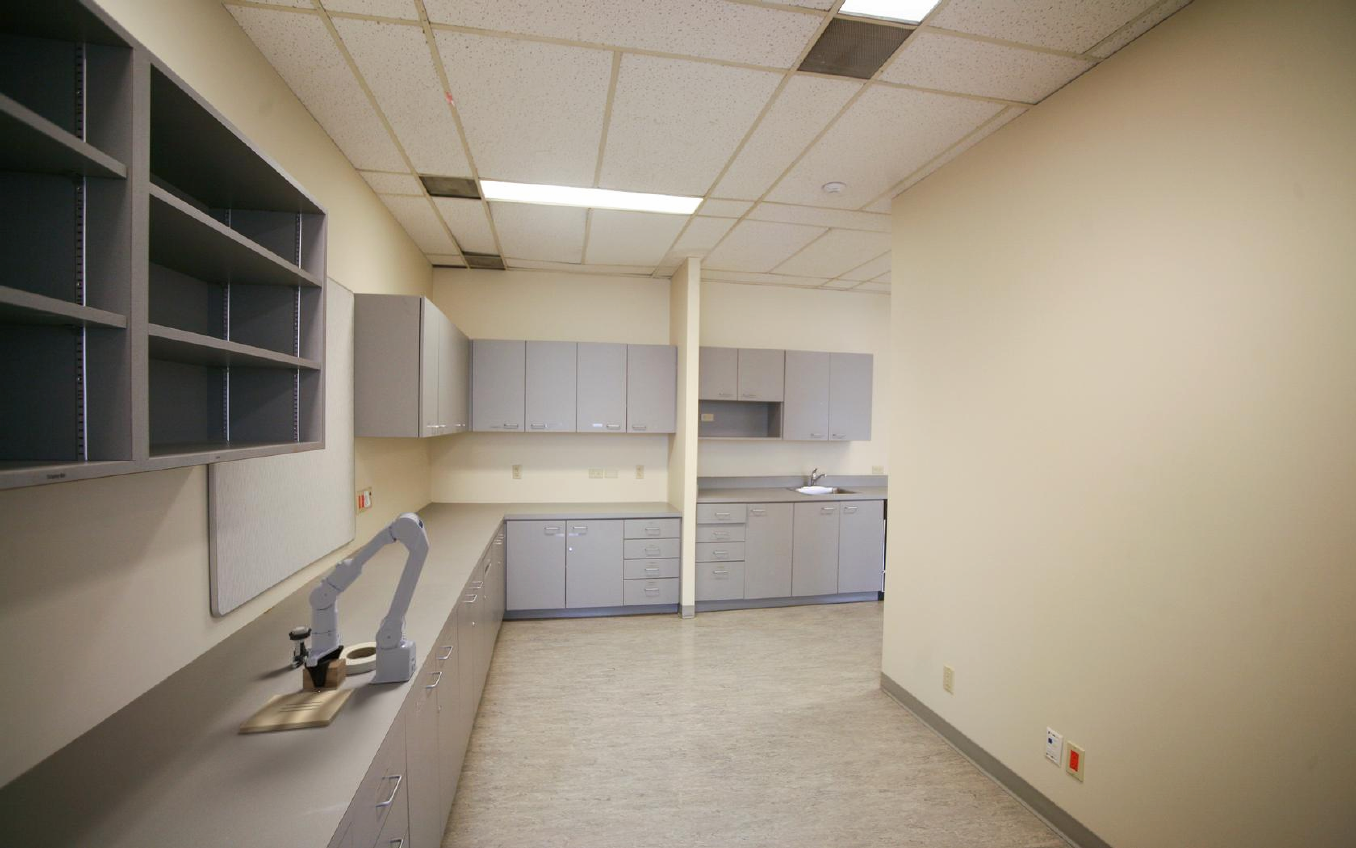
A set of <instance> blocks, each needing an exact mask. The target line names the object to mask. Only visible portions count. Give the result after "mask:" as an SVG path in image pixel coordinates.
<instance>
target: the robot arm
mask: <svg viewBox="0 0 1356 848" xmlns="http://www.w3.org/2000/svg"><path fill="white" fill-rule="evenodd" d="M397 541H399V542H400V543H402V544H403V545H404V546H405V548H406V549H407V551H408V552H409V554H408V557H407V560H406V563H405V564H404V568H403V571H402V573H401V575H400V579H399V582H398V585H397V587H396V590H395V592H394V595H393V598H392V602H391V604H390V607H389V609H388V611H387V614H386V616H384V617H383V618H382V620H381V622H380V623H379V625H380V626H379V628H378V630H377V632H376V634H375V642H376V669H375V674H374V676H373V677H372V678H371V680H370V681H369V684H370V685H372V684H375V685H376V684H384V683H386V684H387V683H395V682H396V683H397V682H407V681H409V680H410V679H411V677H412V675H413V674H414V673H415V671H416V669H417V668H418V666H417V644H416V642H415V641H408V640H407V637H406V636H405V635H404V634H403V633H404V630H405V628H406V623H407V621H406V616H407V613H408V610H409V607H410V605H411V601H412V599H413V596H414V592H415V591H416V590H415V589H416V587H417V585H418V581H419V578H420V575H421V573H422V570H423V567H424V564H425V561H426V559H427V556H428V553H429V551H430V542H429V539H428V536H427V532H426V529H425V523H424V522H423V520H422V518H420V517H419V516H418V515H417V514H416V513H414V512H412V511H406V512H402V513H400V514H398V516H397V517H396V519H393V520H392V521H391V522H389V523H388V524H386V525H385V526H384V527H383V528H382V529H380V530H379V531H378V532H377V533H376V534H375V535H374V536H373V538H372V539H371V540H370V541H369V542H367V544H366V545H365V546H364V547H363V548H362V549H361V550H360V551H359V552H358V553H357V554H356V555H355V556H354V557H353V558H347V559H344V560H343V561H338V562H337V564H335V566H334V567H335V569H333V570H332V572H331V573H329V574H328V576H326V577H323V578H322V579H320V583H319V584H318V585H317V586H316V587H315V588H314V589H313V591H311V593H310V595H309V597H308V603H309V605H310V606H311V629H312V631H311V644H310V645H309V646H307V647H306V648H305V649H306V651H309V657H308V658H307V661H306V662H304V663H303V666H304V668H306V669H307V670H308V672H309V673H310V676H311V678H312V681H313V685H314V687H315V688H317V687H324V685H325V682H326V675H327V670H328V667H329V664H330V662H331V660H332V659H339V657H340V655H341V653H342V651H343V649H345V648H344V647H345V645H342V644H341V642H342V634H339V610H338V600H337V599H338V598H339V597H340V595H341V594H342V593H344V592H345V591H346V590H347V589H348V588H349V587H350V586H351V585H352V584H353V583H354V582H355V581H356V580H357V579H358V578H359V577H360V576H362V574H363V571H364V570H363V566H364V565H366V564H367V562H369V560H371V559H372V558H373V557H374V556H375V555H376V554H378V552H379V551H380V550H381V549H382V548H384V546H386V545H390V544H394V543H396V542H397ZM340 644H341V645H340Z"/></svg>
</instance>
